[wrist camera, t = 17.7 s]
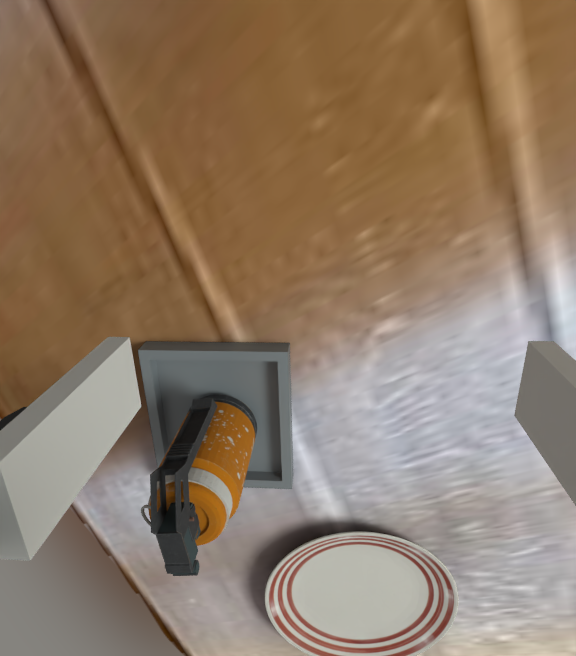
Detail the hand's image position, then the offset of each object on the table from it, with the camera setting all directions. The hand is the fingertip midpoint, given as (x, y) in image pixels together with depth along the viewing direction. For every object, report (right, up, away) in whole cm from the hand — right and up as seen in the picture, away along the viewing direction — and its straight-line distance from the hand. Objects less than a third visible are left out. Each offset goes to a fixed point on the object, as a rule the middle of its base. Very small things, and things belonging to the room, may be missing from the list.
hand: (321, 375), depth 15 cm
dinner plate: (+9, -37, +52) cm, 65 cm away
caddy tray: (-9, -9, +42) cm, 44 cm away
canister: (-9, -9, +42) cm, 44 cm away
